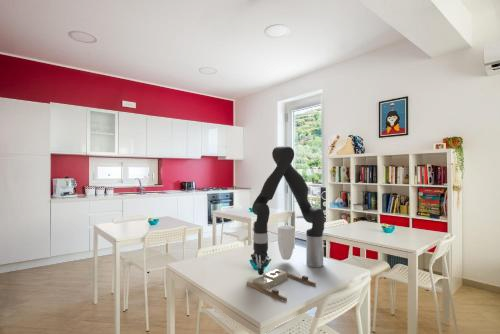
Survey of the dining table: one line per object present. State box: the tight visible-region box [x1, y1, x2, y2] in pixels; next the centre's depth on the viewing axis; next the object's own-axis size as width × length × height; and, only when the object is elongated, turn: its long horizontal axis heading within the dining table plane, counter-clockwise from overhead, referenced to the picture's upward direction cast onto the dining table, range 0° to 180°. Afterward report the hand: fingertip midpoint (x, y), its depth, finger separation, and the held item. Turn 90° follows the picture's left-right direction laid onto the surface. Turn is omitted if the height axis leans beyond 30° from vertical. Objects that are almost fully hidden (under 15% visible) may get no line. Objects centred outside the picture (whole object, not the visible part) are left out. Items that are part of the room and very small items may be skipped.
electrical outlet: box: [252, 268, 288, 289], centre depth 139 cm, size 7×4×18 cm
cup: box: [277, 224, 296, 261], centre depth 166 cm, size 10×10×22 cm
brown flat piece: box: [246, 272, 317, 302], centre depth 135 cm, size 24×24×3 cm
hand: (260, 274), depth 145 cm, fingers closed
